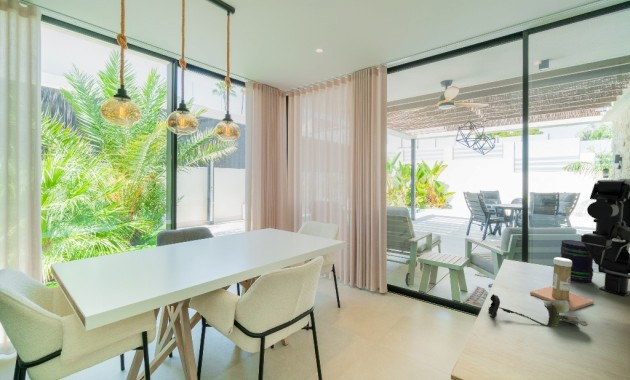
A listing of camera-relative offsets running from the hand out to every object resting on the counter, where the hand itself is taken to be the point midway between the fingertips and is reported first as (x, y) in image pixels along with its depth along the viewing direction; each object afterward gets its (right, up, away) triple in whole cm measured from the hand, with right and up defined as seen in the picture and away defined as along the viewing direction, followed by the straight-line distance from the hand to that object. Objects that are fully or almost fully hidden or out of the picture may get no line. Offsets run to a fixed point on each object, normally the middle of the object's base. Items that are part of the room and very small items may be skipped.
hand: (605, 263), depth 89 cm
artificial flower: (-34, -14, -11) cm, 39 cm away
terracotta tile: (-13, -13, +2) cm, 19 cm away
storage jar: (+9, -12, +19) cm, 24 cm away
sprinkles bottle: (-15, -12, +1) cm, 19 cm away
